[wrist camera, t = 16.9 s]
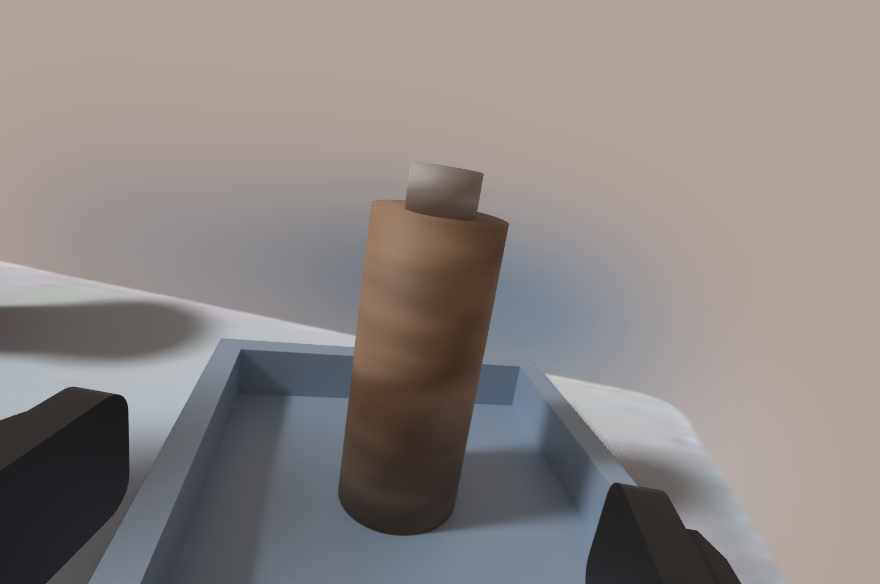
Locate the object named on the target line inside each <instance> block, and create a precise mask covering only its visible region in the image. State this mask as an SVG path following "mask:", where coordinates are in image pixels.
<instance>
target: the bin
mask: <svg viewBox="0 0 880 584" xmlns="http://www.w3.org/2000/svg"><path fill="white" fill-rule="evenodd" d="M354 349H355V347H342V346H327V345H312V344H296V343H281V342H266V341H251V340H236V339H221V340H220V342H219V343H218V345H217V347H216V349H215V351H214V353H213V354H212V356H211V358H210V360H209V362H208V364H207V366H206V367H205V369H204V371H203V373H202V375H201V377H200V378H199V380H198V382H197V384H196V386H195V388H194V389H193V391H192V393H191V395H190V397H189V399H188V401H187V402H186V404H185V406H184V408H183V410H182V412H181V413H180V415H179V417H178V419H177V421H176V423H175V424H174V426H173V428H172V430H171V432H170V434H169V436H168V437H167V439H166V441H165V443H164V445H163V447H162V448H161V450H160V452H159V454H158V456H157V458H156V459H155V461H154V463H153V465H152V467H151V469H150V471H149V472H148V474H147V476H146V478H145V480H144V482H143V483H142V485H141V487H140V489H139V491H138V493H137V494H136V496H135V498H134V500H133V502H132V504H131V506H130V507H129V509H128V511H127V513H126V515H125V517H124V518H123V520H122V522H121V524H120V526H119V528H118V529H117V531H116V533H115V535H114V537H113V539H112V541H111V542H110V544H109V546H108V548H107V550H106V552H105V553H104V555H103V557H102V559H101V561H100V563H99V564H98V566H97V568H96V570H95V572H94V574H93V576H92V577H91V579H90V581H89V583H88V584H585V575H586V565H587V560H588V556H589V552H590V549H591V546H592V542H593V539H594V536H595V532H596V529H597V526H598V522H599V519H600V516H601V512H602V509H603V506H604V502H605V499H606V496H607V493H608V490H609V488H610V487H611V485H612V484H613V483H615V482H616V483H622V484H628V485H633V486H638V485H637V484H636V483H635V482H634V480H633V479H632V478H631V477H630V476H629V474H628V473H627V472H626V471H625V470H624V468H623V467H622V466H621V465H620V464H619V462H618V461H617V460H616V459H615V458H614V457H613V455H612V454H611V453H610V452H609V451H608V449H607V448H606V447H605V446H604V445H603V443H602V442H601V441H600V440H599V439H598V437H597V436H596V435H595V434H594V433H593V431H592V430H591V429H590V428H589V427H588V425H587V424H586V423H585V422H584V421H583V420H582V418H581V417H580V416H579V415H578V414H577V412H576V411H575V410H574V409H573V408H572V406H571V405H570V404H569V403H568V402H567V400H566V399H565V398H564V397H563V396H562V394H561V393H560V392H559V391H558V390H557V388H556V387H555V386H554V385H553V384H552V382H551V381H550V380H549V379H548V378H547V377H546V375H545V374H544V373H543V372H542V371H541V369H540V368H539V367H538V366H537V365H536V363H535V362H534V361H533V360H532V359H523V358H508V357H493V356H483V362H482V367H481V372H480V377H479V383H478V388H477V393H476V398H475V403H474V409H473V414H472V419H471V424H470V429H469V435H468V440H467V445H466V450H465V455H464V461H463V466H462V471H461V476H460V482H459V487H458V492H457V497H456V502H455V508H454V510H453V513H452V514H451V516H450V517H449V518H448V520H447V521H446V522H445V523H443V524H442V525H441V526H439V527H437V528H436V529H434V530H431V531H429V532H425V533H422V534H417V535H408V536H399V535H389V534H384V533H380V532H377V531H374V530H371V529H369V528H367V527H364V526H363V525H361V524H359V523H358V522H356V521H355V520H354V519H352V518H351V517H350V516H349V515H348V514H347V513H346V511H345V510H344V509H343V507H342V505H341V503H340V500H339V497H338V487H339V478H340V469H341V461H342V452H343V443H344V435H345V426H346V418H347V409H348V400H349V392H350V383H351V374H352V366H353V357H354Z"/></svg>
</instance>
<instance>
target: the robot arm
mask: <svg viewBox="0 0 880 584" xmlns="http://www.w3.org/2000/svg"><path fill="white" fill-rule="evenodd" d="M128 482H129V423H128V405H127V402H126V400H125V398H124V397H123V396H121V395H118V394H112V393H107V392H101V391H95V390H90V389H84V388H79V387H69V388H66V389H64V390H62V391H60V392H59V393H57V394H55V395H54V396H52V397H50V398H49V399H47V400H45V401H44V402H42V403H40V404H38V405H37V406H35V407H33V408H32V409H30V410H28V411H26V412H23V413H20V414H17V415H14V416H11V417H9V418H6V419H3V420H0V584H46V583H47V582H48V581H49V580H50V579H51V578H52V577H53V576H54V575H55V574H56V573H57V572H58V571H59V570H60V569H61V567H62V566H63V565H64V564H65V563H66V562H67V561H68V560H69V559H70V558H71V557H72V556H73V555H74V554H75V553H76V552H77V551H78V550H79V549H80V548H81V547H82V546H83V545H84V544H85V543H86V542H87V541H88V540H89V539H90V538H91V537H92V536H93V535H94V534H95V533H96V532H97V531H98V530H99V529H100V528H101V527H102V526H103V525H104V524H105V523H106V522H107V521H108V520H109V519H110V518H111V516H112V515H113V514H114V513H115V511H116V510H117V509H118V507H119V505H120V504H121V502H122V500H123V498H124V495H125V493H126V490H127V486H128ZM585 584H741V582H740V581H739V579H738V577H737V576H736V574H735V572H734V571H733V569H732V568H731V566H730V564H729V563H728V561H727V559H726V558H725V557H724V556H723V555H722V554H721V553H720V552H718V551H717V550H716V549H715V548H714V547H713V546H712V545H711V544H710V543H709V542H708V541H707V540H706V539H705V538H704V537H703V536H702V535H701V534H700V533H699V532H698V531H696V530H690V529H686V528H685V526H684V524H683V523H682V521H681V519H680V517H679V515H678V514H677V512H676V510H675V508H674V506H673V504H672V503H671V501H670V499H669V497H668V496H667V494H666V493H665V492H663V491H661V490H656V489H650V488H645V487H639V486H633V485H628V484H622V483H616V482H615V483H613V484H612V485H611V487H610V488H609V490H608V493H607V496H606V499H605V502H604V506H603V509H602V512H601V516H600V519H599V522H598V526H597V529H596V532H595V536H594V539H593V542H592V546H591V549H590V552H589V556H588V560H587V565H586V575H585Z"/></svg>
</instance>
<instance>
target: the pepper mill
mask: <svg viewBox="0 0 880 584" xmlns="http://www.w3.org/2000/svg"><path fill="white" fill-rule="evenodd" d="M482 181H483V173H480V172H476V171H471V170H465V169H460V168H454V167H448V166H442V165H435V164H427V163H418V162H411V165H410V173H409V180H408V187H407V196H406V201H402V200H378V201H373V202H372V203H371V210H370V219H369V228H368V237H367V245H366V254H365V262H364V271H363V279H362V288H361V297H360V306H359V314H358V323H357V332H356V340H355V349H354V357H353V366H352V374H351V383H350V392H349V400H348V409H347V418H346V426H345V435H344V443H343V452H342V461H341V469H340V478H339V487H338V497H339V500H340V503H341V505H342V507H343V509H344V510H345V511H346V513H347V514H348V515H349V516H350V517H351V518H352V519H354V520H355V521H356V522H358V523H359V524H361V525H363V526H364V527H367V528H369V529H371V530H374V531H377V532H380V533H384V534H389V535H399V536H408V535H417V534H422V533H425V532H429V531H431V530H434V529H436V528H437V527H439V526H441V525H442V524H443V523H445V522H446V521H447V520H448V518H449V517H450V516H451V514H452V513H453V510H454V508H455V502H456V497H457V492H458V487H459V482H460V476H461V471H462V466H463V461H464V455H465V450H466V445H467V440H468V435H469V429H470V424H471V419H472V414H473V409H474V403H475V398H476V393H477V388H478V383H479V377H480V372H481V367H482V362H483V356H484V351H485V345H486V341H487V336H488V330H489V325H490V320H491V314H492V309H493V304H494V299H495V294H496V289H497V283H498V278H499V272H500V267H501V263H502V257H503V252H504V246H505V242H506V236H507V231H508V226H509V224H508V223H507V222H506V221H504V220H502V219H499V218H497V217H494V216H490V215H487V214H483V213H479V212H477V209H478V203H479V198H480V192H481V186H482Z"/></svg>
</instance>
